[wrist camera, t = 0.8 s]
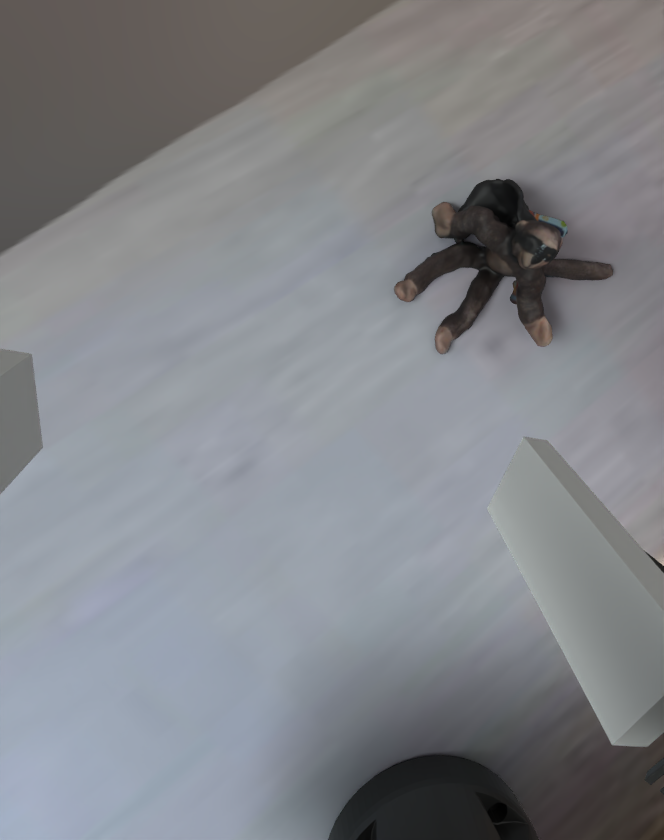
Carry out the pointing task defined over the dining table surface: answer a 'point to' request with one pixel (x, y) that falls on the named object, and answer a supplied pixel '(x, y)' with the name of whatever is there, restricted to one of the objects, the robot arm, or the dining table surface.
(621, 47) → the dining table surface
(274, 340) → the dining table surface
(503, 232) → the stuffed animal
